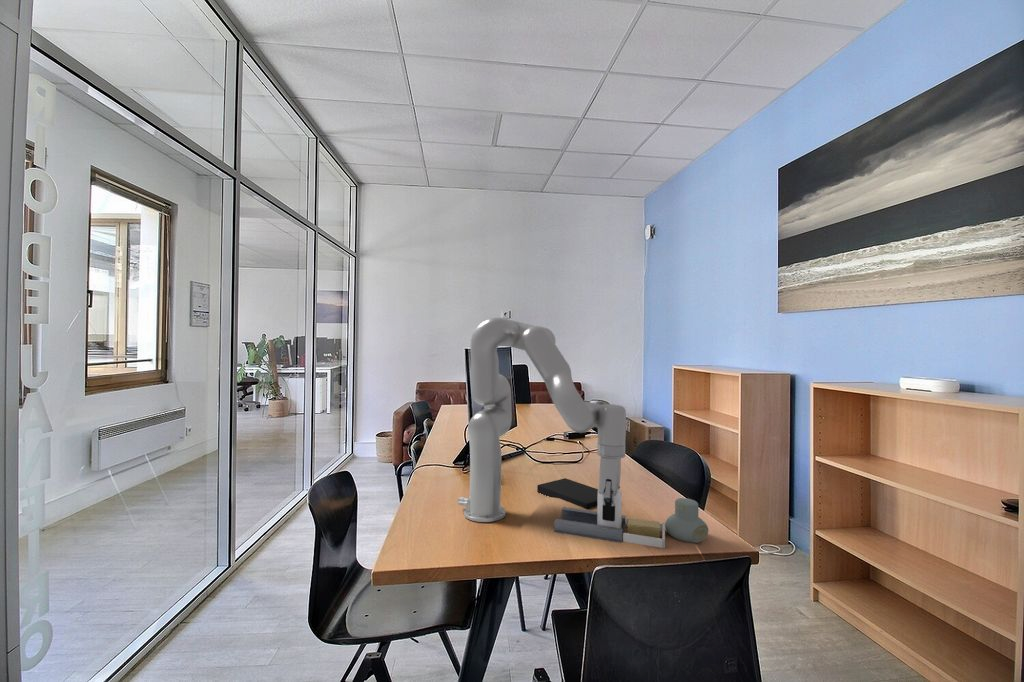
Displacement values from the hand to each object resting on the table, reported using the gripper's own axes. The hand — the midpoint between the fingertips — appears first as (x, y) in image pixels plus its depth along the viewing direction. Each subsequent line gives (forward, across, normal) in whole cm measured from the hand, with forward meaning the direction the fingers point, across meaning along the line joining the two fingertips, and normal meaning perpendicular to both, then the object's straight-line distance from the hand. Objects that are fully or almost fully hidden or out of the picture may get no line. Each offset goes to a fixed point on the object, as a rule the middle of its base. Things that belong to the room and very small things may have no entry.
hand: (610, 514), depth 118 cm
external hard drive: (+6, -26, -15) cm, 30 cm away
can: (+4, 0, 0) cm, 4 cm away
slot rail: (+5, 0, -5) cm, 8 cm away
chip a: (+5, 0, +7) cm, 8 cm away
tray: (+5, 0, +9) cm, 11 cm away
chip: (+5, 0, +11) cm, 12 cm away
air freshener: (+5, -5, +20) cm, 21 cm away
